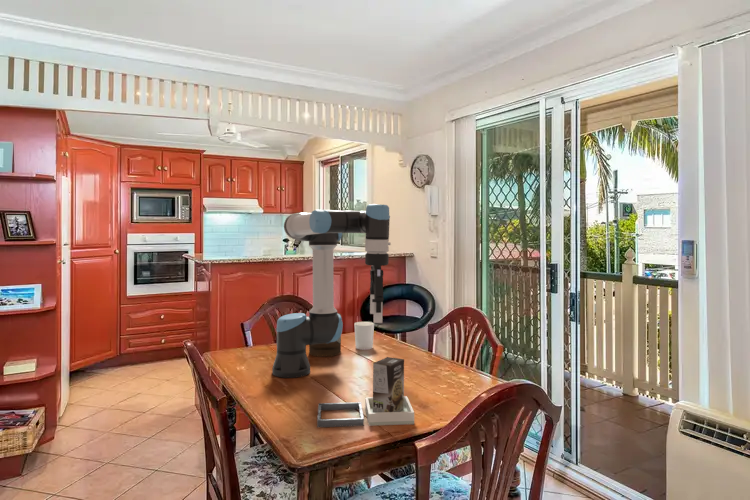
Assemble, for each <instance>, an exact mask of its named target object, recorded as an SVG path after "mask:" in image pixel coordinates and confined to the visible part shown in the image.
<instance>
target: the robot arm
mask: <svg viewBox="0 0 750 500" xmlns="http://www.w3.org/2000/svg"><path fill="white" fill-rule="evenodd" d="M365 208H366V209H365V210H339V209H338V210H337V209H335V210H334V209H314V210H312V211H311V212H296V213H292V214H290V215H288V216H287V217H286V218H285V220H284V223H283V229H284V232H285V234H286V235H287V237H289V238H291V239H293V240H294V241H299V242H308V247H310V249H311V250H312V308H311V309H309V311H308V312H309V314H308V315H309V316H307V315H306V313H303V312H296V313H287V314H284V315H282V316H280V317H279V318H278V319H277V321H276V329H275V331H276V355H275V359H274V362H273V364H272V370H271V371H272V373H271V374H272V375H273V376H274V377H277V378H285V379H293V378H295V379H296V378H300V377H304V376H307V375H309V374H310V373H311V364H310V361H309V358H308V355H307V346H309V345H312V344H321V343H330V342H335V341H337V340H338V339H339V338H340V336H341V337H342V333H343V326H344V325H343V324H344V323H343V318H342V315H341V316H340V315H339V314H340V313H339V314H337V313H338V310H337V309H336V307H335V305H334V304H335V303H334V297H335V296H334V249H335V248H336V247H337V246H338V242H339V241H341V239H342V236H343V234H365V239H364V240H365V242H364V243H365V245H364V247H365V248H364V251H365V252H366V253H365V254H364V255H365V257H364V258H365V260H364V262H365V263H364V264H365V265H367V266H370V269H369V271H370V272H369V274H370V283H369V285H370V286H369V287H370V288H369V295H370V297H369V298H370V299H369V304H370V305H369V314H370V315H373V322H372V323H374V324H383V312H384V311H383V310H384V309H383V308H384V307H383V305H384V303H383V302H384V300H385V298H384V269H382V266H383V267H384V266H388V265H389V264H390V263H389V261H390V260H389V259H390V257H389V256H390V255H389V253H388V252H389V251H390V250H389V249H390V248H389V246H391V245H392V244H391V242H390V241H389V240H390V223H391V222H390V219H391V216H390V207H389V205H387V204H376V203H372V204H367V205H366V207H365Z"/></svg>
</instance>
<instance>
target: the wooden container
mask: <svg viewBox="0 0 750 500" xmlns="http://www.w3.org/2000/svg"><path fill="white" fill-rule="evenodd" d="M337 314H339V315H340V316H341V317H342V314H341V313H339V312H337ZM308 346H309V347H308V349H309V351H308V353H309V355H312V356H314V357H323V358H326V357H327V358H329V357H335V356H337V355H340V354H341V351H342V349H341V348H342V347H341V346H342V335H341V336H340V338H339V339H338V340H337V341H335V342H330V343H321V344H312V345H308Z"/></svg>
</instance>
